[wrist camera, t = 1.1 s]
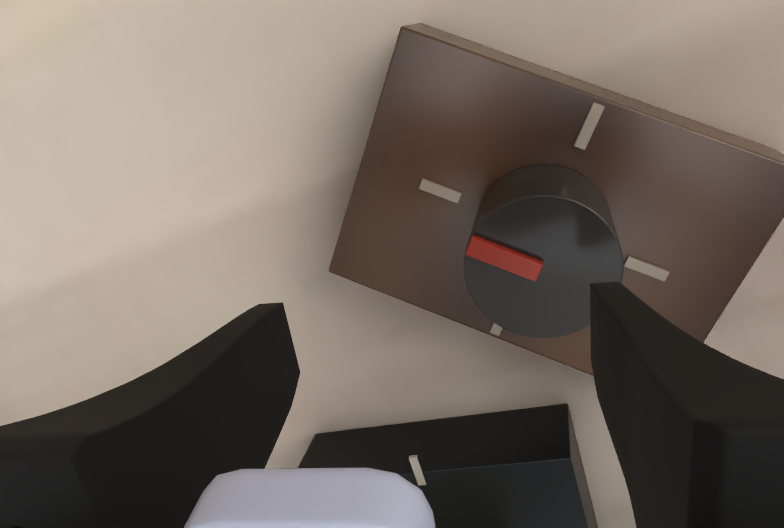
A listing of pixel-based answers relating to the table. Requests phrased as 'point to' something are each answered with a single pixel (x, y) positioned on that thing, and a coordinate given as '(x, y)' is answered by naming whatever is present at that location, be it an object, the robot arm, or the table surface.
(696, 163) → the walnut console
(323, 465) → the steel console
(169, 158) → the table surface
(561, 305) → the round dial
